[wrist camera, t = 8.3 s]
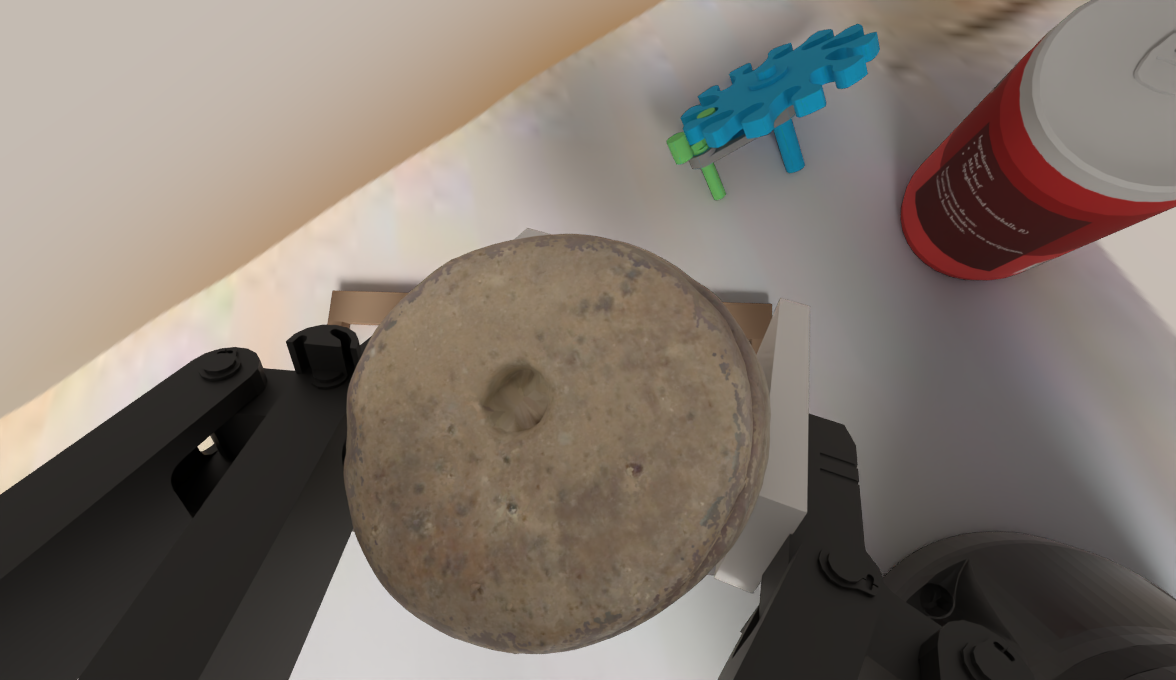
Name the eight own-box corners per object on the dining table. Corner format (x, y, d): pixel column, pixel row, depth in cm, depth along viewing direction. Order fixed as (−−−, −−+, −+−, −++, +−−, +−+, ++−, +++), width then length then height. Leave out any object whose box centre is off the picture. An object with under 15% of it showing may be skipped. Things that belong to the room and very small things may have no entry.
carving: (495, 438, 19) (204, 454, 7) (632, 293, 19) (560, 77, 7) (616, 568, 17) (494, 853, 6) (765, 410, 17) (942, 372, 6)
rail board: (769, 307, 28) (778, 296, 26) (765, 568, 26) (774, 582, 24) (340, 293, 33) (314, 283, 31) (307, 514, 31) (276, 522, 29)
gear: (813, 10, 29) (923, 13, 21) (837, 106, 32) (940, 142, 24) (644, 113, 32) (681, 153, 23) (680, 193, 35) (725, 254, 26)
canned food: (1067, 165, 27) (1324, -4, 16) (1032, 303, 26) (1280, 220, 16) (915, 134, 29) (1060, -38, 18) (878, 264, 28) (1007, 164, 17)
